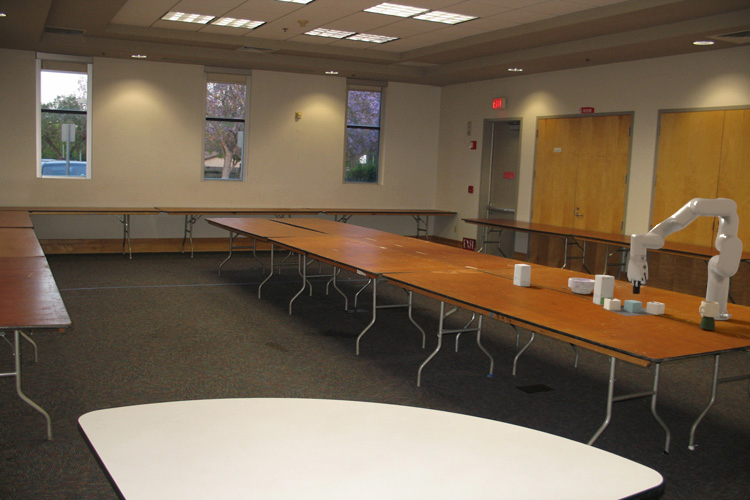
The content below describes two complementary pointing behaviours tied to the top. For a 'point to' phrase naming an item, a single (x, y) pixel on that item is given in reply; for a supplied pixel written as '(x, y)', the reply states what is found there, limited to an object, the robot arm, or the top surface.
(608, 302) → the digit block seven
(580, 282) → the paper bowls
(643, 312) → the mat
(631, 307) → the plain block
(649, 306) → the digit block one
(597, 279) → the skincare box
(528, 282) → the supplement box
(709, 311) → the character mug
